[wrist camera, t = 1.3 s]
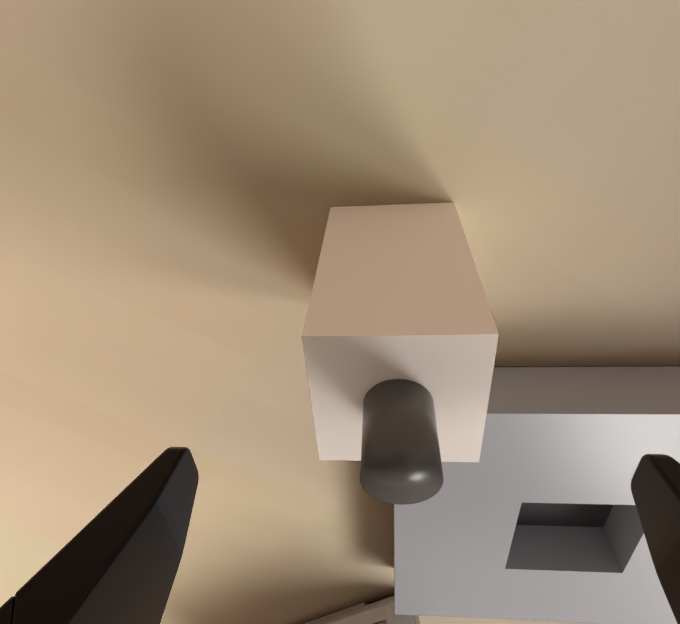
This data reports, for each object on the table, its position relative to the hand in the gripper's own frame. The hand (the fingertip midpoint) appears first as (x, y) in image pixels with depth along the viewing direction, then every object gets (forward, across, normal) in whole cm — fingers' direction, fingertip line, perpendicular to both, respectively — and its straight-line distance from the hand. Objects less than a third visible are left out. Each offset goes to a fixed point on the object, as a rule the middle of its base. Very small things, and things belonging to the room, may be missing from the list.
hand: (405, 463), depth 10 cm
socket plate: (+8, -8, +13) cm, 17 cm away
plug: (+9, 0, 0) cm, 9 cm away
